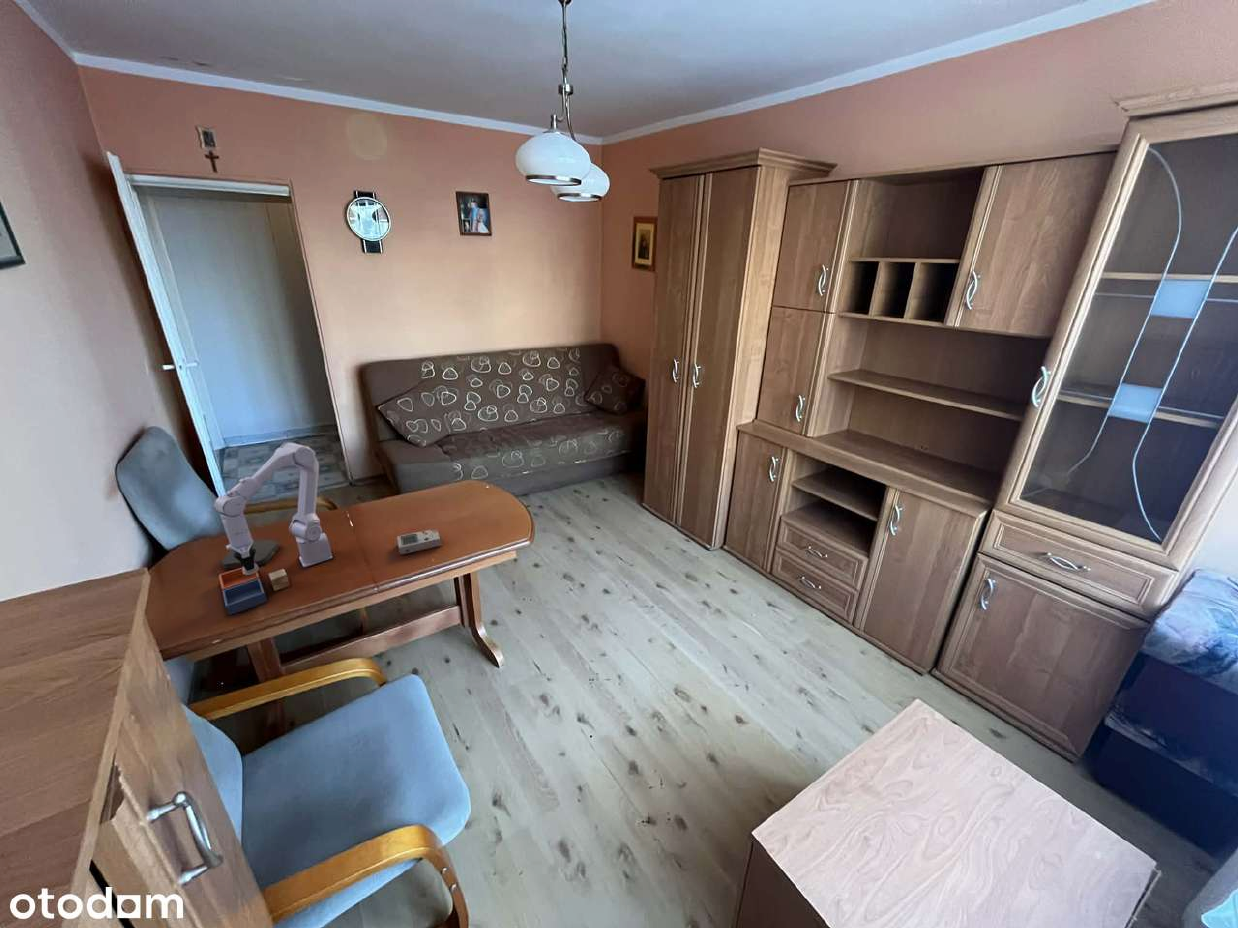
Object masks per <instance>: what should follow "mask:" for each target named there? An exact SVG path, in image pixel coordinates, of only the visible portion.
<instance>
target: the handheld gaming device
mask: <svg viewBox="0 0 1238 928" xmlns="http://www.w3.org/2000/svg"><path fill="white" fill-rule="evenodd" d="M396 540H397V546H398V550H399V554H400V555H405V554H410V553H414V552H418V551H423V550H427V549H432V548H437V547H440V546H442V542H441V537H440V533H439V531H438V530H435V529H428V530H423V531H417V532H412V533H408V534H403V535H398V536H396Z"/></svg>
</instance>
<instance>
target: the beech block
mask: <svg viewBox="0 0 1238 928" xmlns="http://www.w3.org/2000/svg"><path fill="white" fill-rule="evenodd" d="M268 577H269V579H270V584H271V586H272V588H273V591H274V592H276V591H279V590H282V589H284V588H287V587H290V586H291V585H290V582H289V578H288V574H287V573H286V570H285V568H282V569H278V570H276V571H273V572H270V573H268Z"/></svg>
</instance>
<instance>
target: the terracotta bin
mask: <svg viewBox="0 0 1238 928" xmlns="http://www.w3.org/2000/svg"><path fill="white" fill-rule="evenodd" d="M242 568H243V567H242ZM242 568H235V569H233V570H229V571H227V572H224V573H221V574H220V573H219V574H218V580H219V582H220V587H221V588H220V589H221V591H222V590H225V589H228V588H231V587H234V586H237V585H241V584H244V583H247V582H250V581H253V580H256V579H259V578H260V575H259V572H258V571H257V572H256V573H254V574H251V575H245V574H243V571H242Z"/></svg>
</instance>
